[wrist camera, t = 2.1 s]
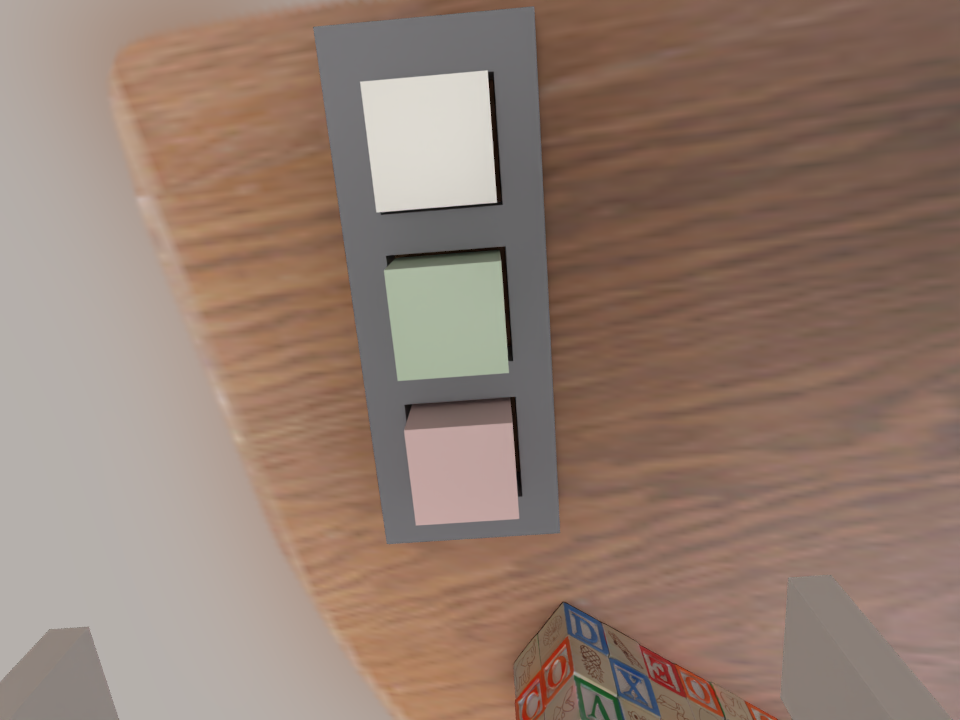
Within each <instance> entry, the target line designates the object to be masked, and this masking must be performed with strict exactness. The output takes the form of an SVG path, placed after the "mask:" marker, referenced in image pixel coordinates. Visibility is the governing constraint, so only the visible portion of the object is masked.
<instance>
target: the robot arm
mask: <svg viewBox="0 0 960 720" xmlns="http://www.w3.org/2000/svg"><path fill="white" fill-rule="evenodd" d="M780 698H781V699H782V701H783V703H784V705H785V707H786V708H787V710H788V712H789V714H790V716H791V717H792V719H793V720H952V718H951V717H950V716H949V715H948V714H947V712H946V711H945V710H944V709H943V708H942V707H941V705H940V704H939V703H938V702H937V701H936V699H935V698H934V697H933V696H932V695H931V693H930V692H929V691H928V690H927V689H926V688H925V686H924V685H923V684H922V683H921V682H920V680H919V679H918V678H917V677H916V676H915V674H914V673H913V672H912V671H911V670H910V669H909V667H908V666H907V665H906V664H905V663H904V661H903V660H902V659H901V658H900V657H899V655H898V654H897V653H896V652H895V651H894V649H893V648H892V647H891V646H890V645H889V644H888V642H887V641H886V640H885V639H884V638H883V636H882V635H881V634H880V633H879V632H878V630H877V629H876V628H875V627H874V626H873V625H872V623H871V622H870V621H869V620H868V619H867V617H866V616H865V615H864V614H863V613H862V611H861V610H860V609H859V608H858V607H857V606H856V604H855V603H854V602H853V601H852V600H851V598H850V597H849V596H848V595H847V594H846V592H845V591H844V590H843V589H842V588H841V587H840V585H839V584H838V583H837V582H836V581H835V579H834V578H833V577H832V576H831V575H822V576H807V577H793V578H788V589H787V605H786V620H785V635H784V651H783V666H782V681H781V696H780ZM0 720H119V718H118V715H117V712H116V709H115V706H114V703H113V700H112V697H111V694H110V690H109V687H108V685H107V681H106V678H105V675H104V672H103V669H102V666H101V663H100V660H99V657H98V654H97V651H96V648H95V645H94V642H93V639H92V636H91V633H90V630H89V627H77V628H64V629H49V630H48V632H46V634H45V635H44V636H43V637H42V638H41V639H40V640H39V641H38V642H37V643H36V645H34V647H32V649H31V650H30V651H29V652H28V653H27V654H26V655H25V656H24V657H23V658H22V659H21V660H20V661H19V662H18V663H17V665H16V666H15V667H14V668H13V669H12V670H11V671H10V672H9V673H8V674H7V675H6V676H5V677H4V679H3V680H2V681H1V682H0Z"/></svg>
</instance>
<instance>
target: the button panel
mask: <svg viewBox="0 0 960 720" xmlns="http://www.w3.org/2000/svg"><path fill="white" fill-rule="evenodd" d="M313 29H314V36H315V43H316V50H317V57H318V64H319V71H320V78H321V85H322V92H323V99H324V106H325V113H326V120H327V127H328V134H329V141H330V148H331V155H332V162H333V169H334V176H335V183H336V190H337V197H338V204H339V211H340V218H341V225H342V232H343V239H344V246H345V253H346V260H347V267H348V274H349V281H350V288H351V295H352V302H353V309H354V316H355V323H356V330H357V337H358V344H359V351H360V358H361V365H362V372H363V379H364V387H365V394H366V401H367V408H368V415H369V422H370V429H371V436H372V443H373V450H374V457H375V464H376V471H377V478H378V485H379V492H380V499H381V506H382V513H383V520H384V527H385V534H386V541H387V544H396V543H412V542H427V541H443V540H459V539H475V538H490V537H506V536H522V535H538V534H553V533H560V521H559V501H558V481H557V460H556V440H555V419H554V399H553V379H552V358H551V338H550V317H549V297H548V277H547V256H546V236H545V216H544V195H543V175H542V154H541V134H540V114H539V93H538V73H537V53H536V32H535V12H534V7H523V8H512V9H502V10H491V11H480V12H469V13H458V14H448V15H437V16H426V17H415V18H404V19H394V20H383V21H372V22H361V23H350V24H340V25H329V26H318V27H313ZM486 70H488V80H493V84H494V99H495V114H496V128H497V143H498V158H499V172H500V187H501V202H497V203H486V204H474V205H461V206H449V207H437V208H425V209H413V210H400V211H388V212H376V205H375V197H374V189H373V181H372V173H371V165H370V157H369V149H368V141H367V133H366V125H365V117H364V109H363V101H362V93H361V86H360V82H363V81H374V80H385V79H397V78H408V77H419V76H430V75H441V74H453V73H464V72H475V71H486ZM502 246H505V260H506V275H507V289H508V304H509V319H510V333H511V346H507V351H508V366H509V373H502V374H488V375H475V376H461V377H447V378H433V379H419V380H406V381H398V379H397V371H396V363H395V355H394V348H393V340H392V332H391V324H390V316H389V308H388V300H387V292H386V284H385V276H384V270H385V268H386V267H387V266H388V265H389V264H390V263H391V262H392V261H393V260H394V259H395V255H402V254H414V253H427V252H439V251H452V250H464V249H477V248H490V247H502ZM506 397H515V407H516V421H517V436H518V450H519V465H520V472H516V478H517V493H518V507H519V519H510V520H495V521H479V522H464V523H448V524H433V525H417V526H416V522H415V514H414V506H413V498H412V490H411V482H410V474H409V466H408V458H407V450H406V443H405V435H404V429H405V426H406V422H407V419H408V416H409V413H410V410H411V406H412V404H421V403H435V402H449V401H463V400H477V399H492V398H506Z"/></svg>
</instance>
